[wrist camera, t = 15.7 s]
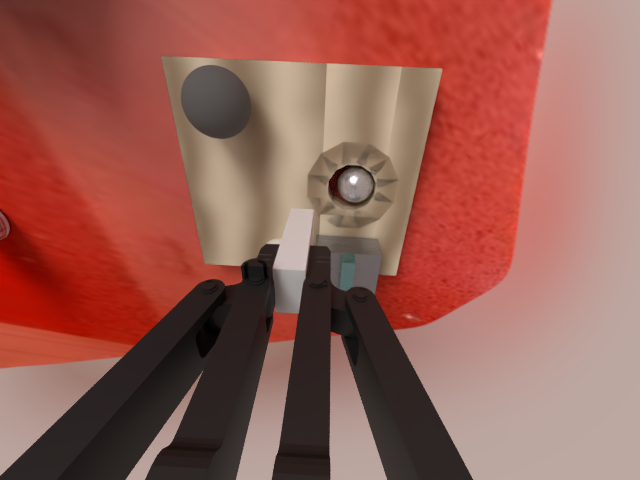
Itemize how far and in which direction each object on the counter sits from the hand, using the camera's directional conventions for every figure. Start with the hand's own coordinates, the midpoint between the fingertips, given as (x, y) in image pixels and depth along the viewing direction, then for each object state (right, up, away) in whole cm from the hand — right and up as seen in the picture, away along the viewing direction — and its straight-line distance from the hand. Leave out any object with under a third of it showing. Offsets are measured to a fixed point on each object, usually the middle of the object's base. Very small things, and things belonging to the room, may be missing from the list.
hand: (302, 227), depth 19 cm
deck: (-1, +6, +10) cm, 12 cm away
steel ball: (+5, +5, +8) cm, 11 cm away
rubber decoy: (-7, +10, +2) cm, 12 cm away
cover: (+4, -3, +12) cm, 13 cm away
